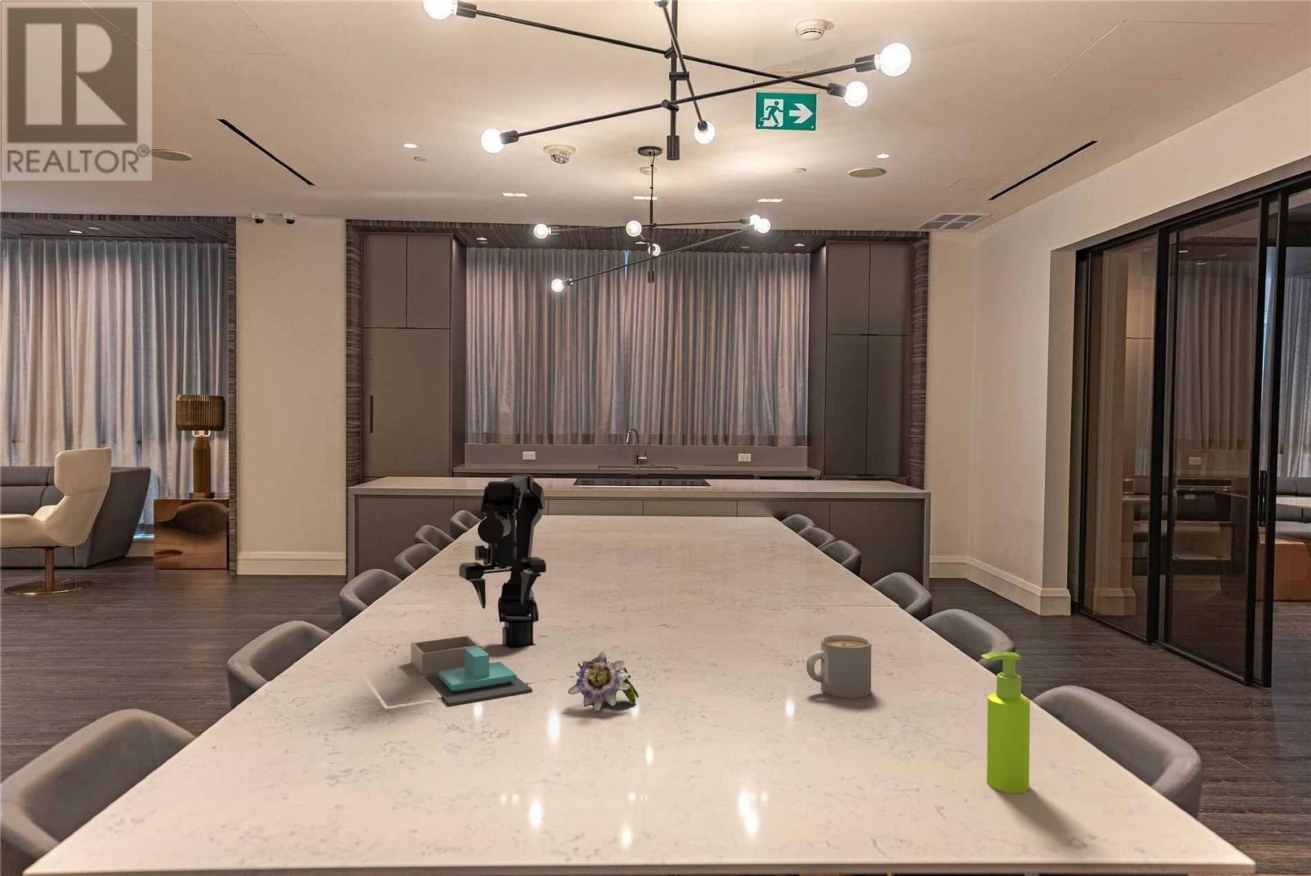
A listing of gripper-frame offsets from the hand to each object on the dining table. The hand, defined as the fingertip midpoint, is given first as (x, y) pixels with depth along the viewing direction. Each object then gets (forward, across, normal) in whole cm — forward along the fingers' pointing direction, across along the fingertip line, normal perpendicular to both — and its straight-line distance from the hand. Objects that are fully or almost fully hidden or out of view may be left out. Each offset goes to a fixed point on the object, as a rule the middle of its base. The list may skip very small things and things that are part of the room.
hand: (503, 606), depth 189 cm
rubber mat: (+13, +10, +12) cm, 20 cm away
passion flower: (+13, -8, +35) cm, 38 cm away
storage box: (+13, +12, -4) cm, 18 cm away
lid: (+12, +10, +12) cm, 20 cm away
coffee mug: (+13, -53, +51) cm, 75 cm away
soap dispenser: (+13, -45, +97) cm, 108 cm away
